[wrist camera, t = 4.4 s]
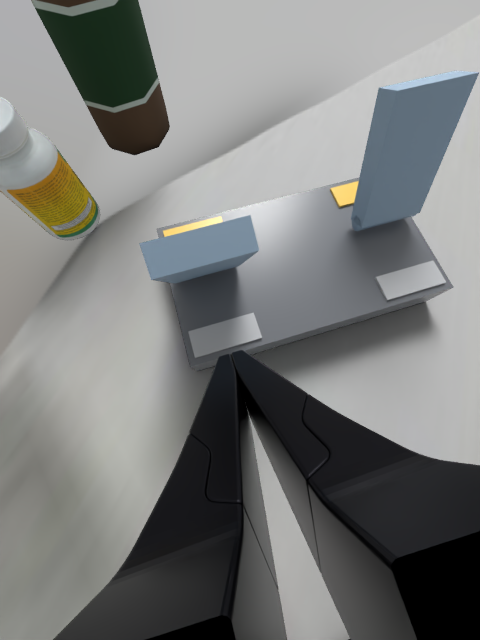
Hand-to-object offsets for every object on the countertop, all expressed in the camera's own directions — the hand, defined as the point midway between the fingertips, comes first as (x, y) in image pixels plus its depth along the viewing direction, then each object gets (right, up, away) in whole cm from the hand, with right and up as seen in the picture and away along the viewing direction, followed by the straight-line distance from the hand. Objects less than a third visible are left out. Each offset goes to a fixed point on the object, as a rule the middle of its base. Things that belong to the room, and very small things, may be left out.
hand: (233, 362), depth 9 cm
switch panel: (+5, +6, +14) cm, 16 cm away
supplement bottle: (-16, +11, +17) cm, 26 cm away
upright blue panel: (+12, +10, +12) cm, 19 cm away
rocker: (-2, +6, +10) cm, 12 cm away
